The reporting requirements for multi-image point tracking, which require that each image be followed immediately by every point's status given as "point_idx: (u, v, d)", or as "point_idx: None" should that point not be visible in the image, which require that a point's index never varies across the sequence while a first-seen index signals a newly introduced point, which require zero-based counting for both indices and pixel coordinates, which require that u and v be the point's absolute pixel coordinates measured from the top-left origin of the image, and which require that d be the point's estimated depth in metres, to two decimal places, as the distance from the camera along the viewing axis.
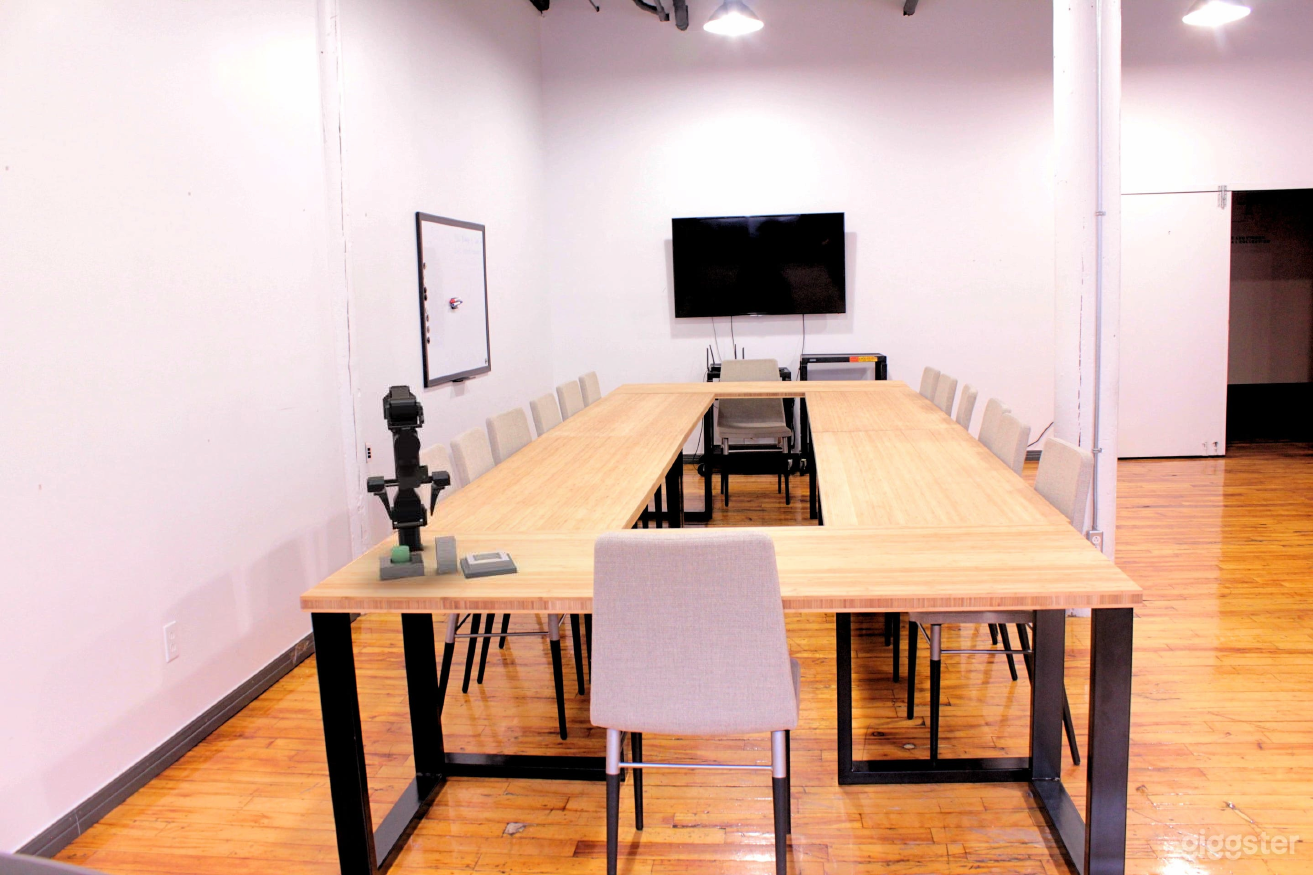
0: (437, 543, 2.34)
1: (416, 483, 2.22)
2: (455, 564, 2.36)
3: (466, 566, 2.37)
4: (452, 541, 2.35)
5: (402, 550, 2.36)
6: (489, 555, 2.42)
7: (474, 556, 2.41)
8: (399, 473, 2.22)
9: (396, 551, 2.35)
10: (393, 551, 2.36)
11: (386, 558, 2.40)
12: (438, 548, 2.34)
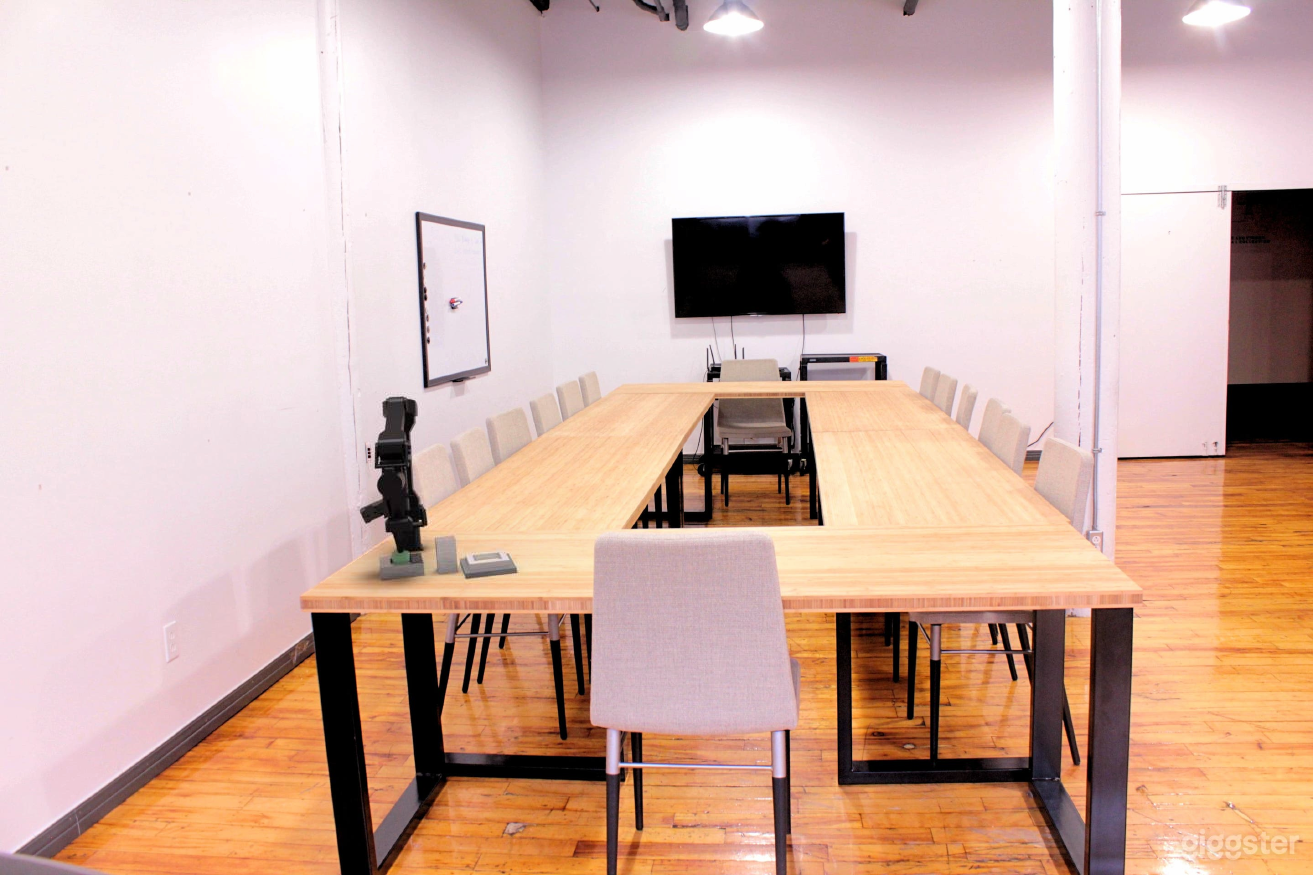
0: (437, 543, 2.34)
1: (363, 518, 2.33)
2: (455, 564, 2.36)
3: (466, 566, 2.37)
4: (452, 541, 2.35)
5: (402, 555, 2.36)
6: (489, 555, 2.42)
7: (474, 556, 2.41)
8: (367, 505, 2.36)
9: (396, 556, 2.36)
10: (393, 556, 2.36)
11: (386, 558, 2.40)
12: (438, 548, 2.34)
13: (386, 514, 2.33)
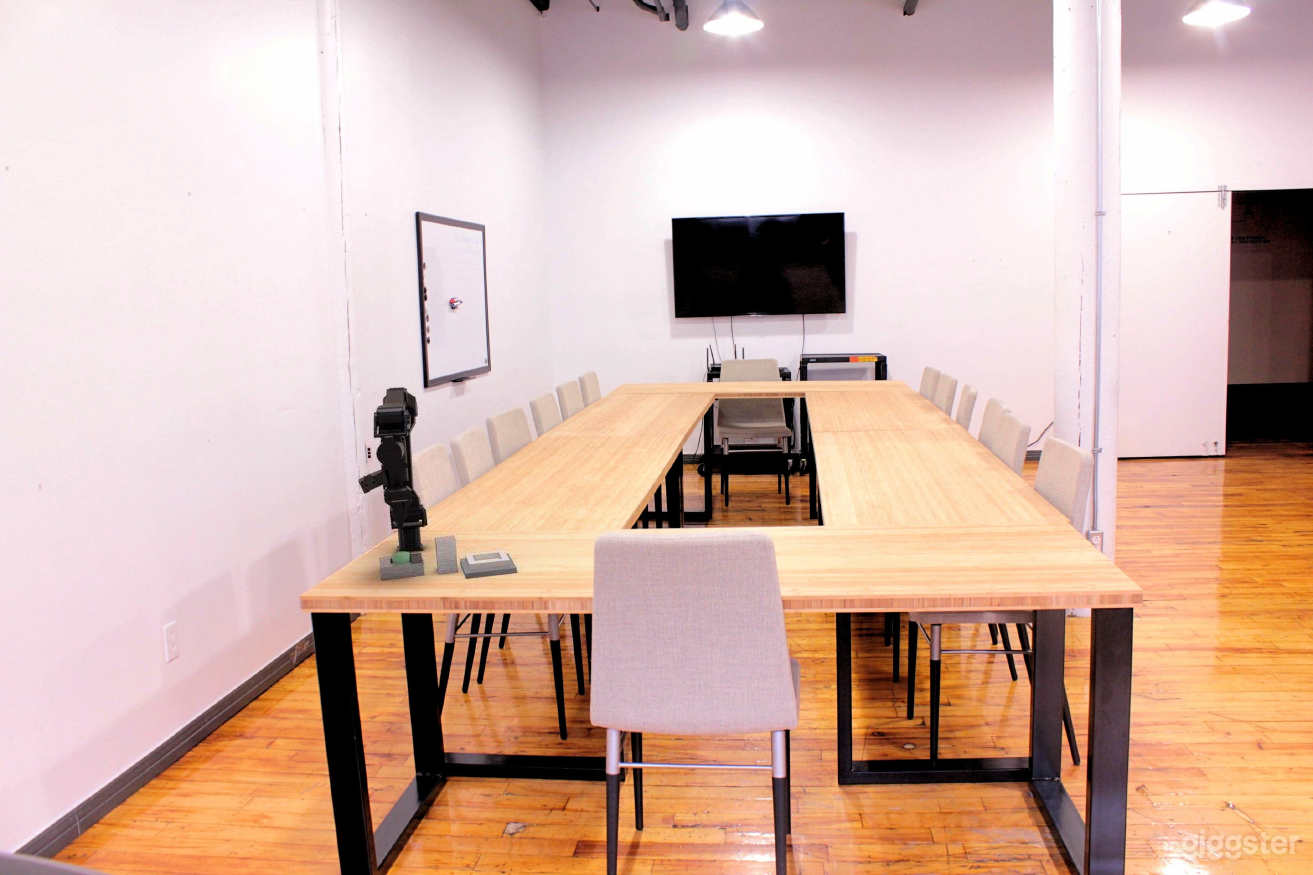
0: (437, 543, 2.34)
1: (362, 488, 2.31)
2: (455, 564, 2.36)
3: (466, 566, 2.37)
4: (452, 541, 2.35)
5: (402, 556, 2.36)
6: (489, 555, 2.42)
7: (474, 556, 2.41)
8: (366, 475, 2.35)
9: (396, 557, 2.36)
10: (393, 557, 2.36)
11: (386, 558, 2.40)
12: (438, 548, 2.34)
13: (385, 484, 2.31)
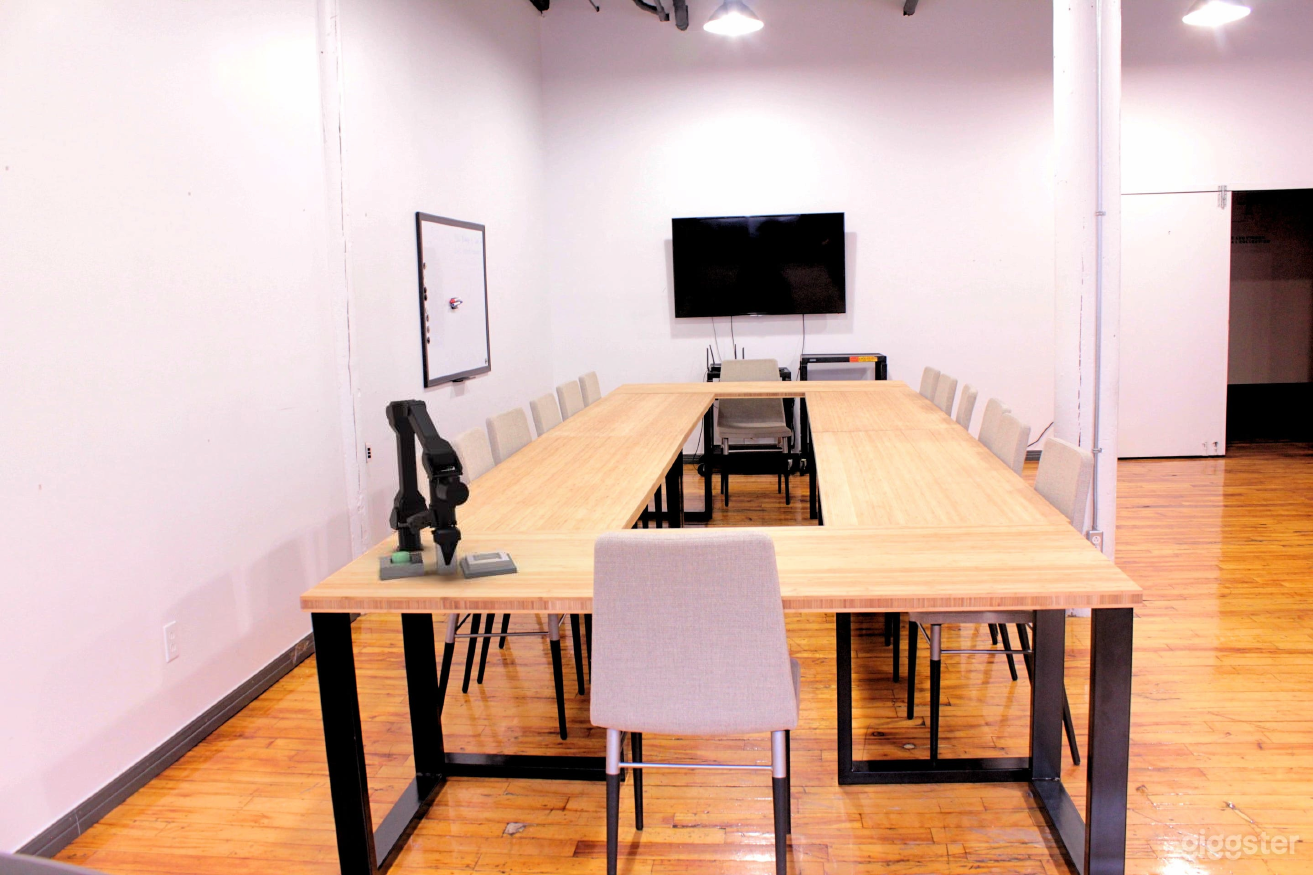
0: None
1: (410, 529, 2.33)
2: (455, 564, 2.36)
3: (466, 566, 2.37)
4: None
5: (402, 556, 2.36)
6: (489, 555, 2.42)
7: (474, 556, 2.41)
8: (414, 515, 2.36)
9: (396, 557, 2.36)
10: (393, 557, 2.36)
11: (386, 558, 2.40)
12: (438, 548, 2.34)
13: (433, 524, 2.32)
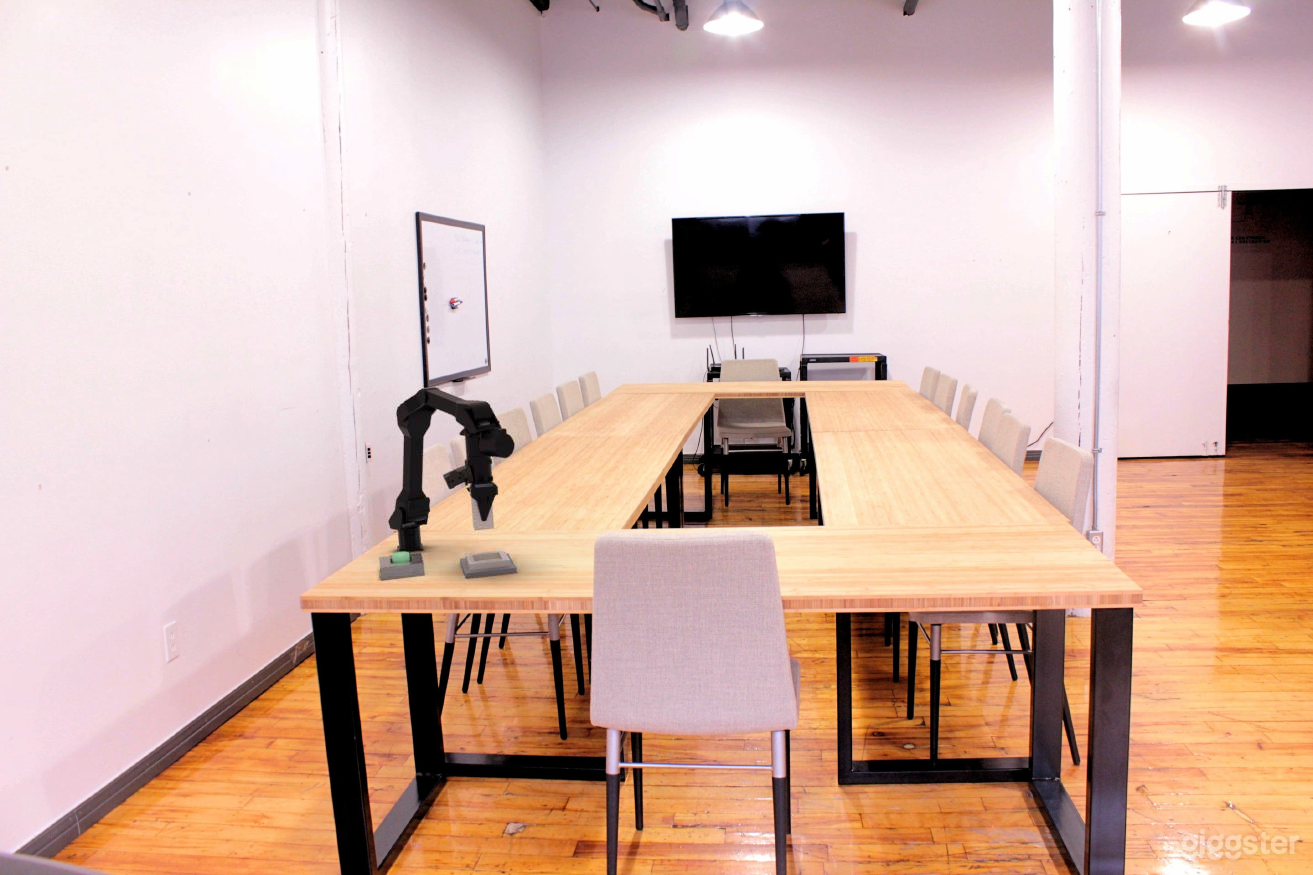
0: (473, 499, 2.33)
1: (447, 484, 2.32)
2: (491, 520, 2.35)
3: (466, 566, 2.37)
4: None
5: (402, 556, 2.36)
6: (489, 555, 2.42)
7: (474, 556, 2.41)
8: (450, 471, 2.35)
9: (396, 557, 2.36)
10: (393, 557, 2.36)
11: (386, 558, 2.40)
12: (474, 504, 2.34)
13: (470, 480, 2.32)
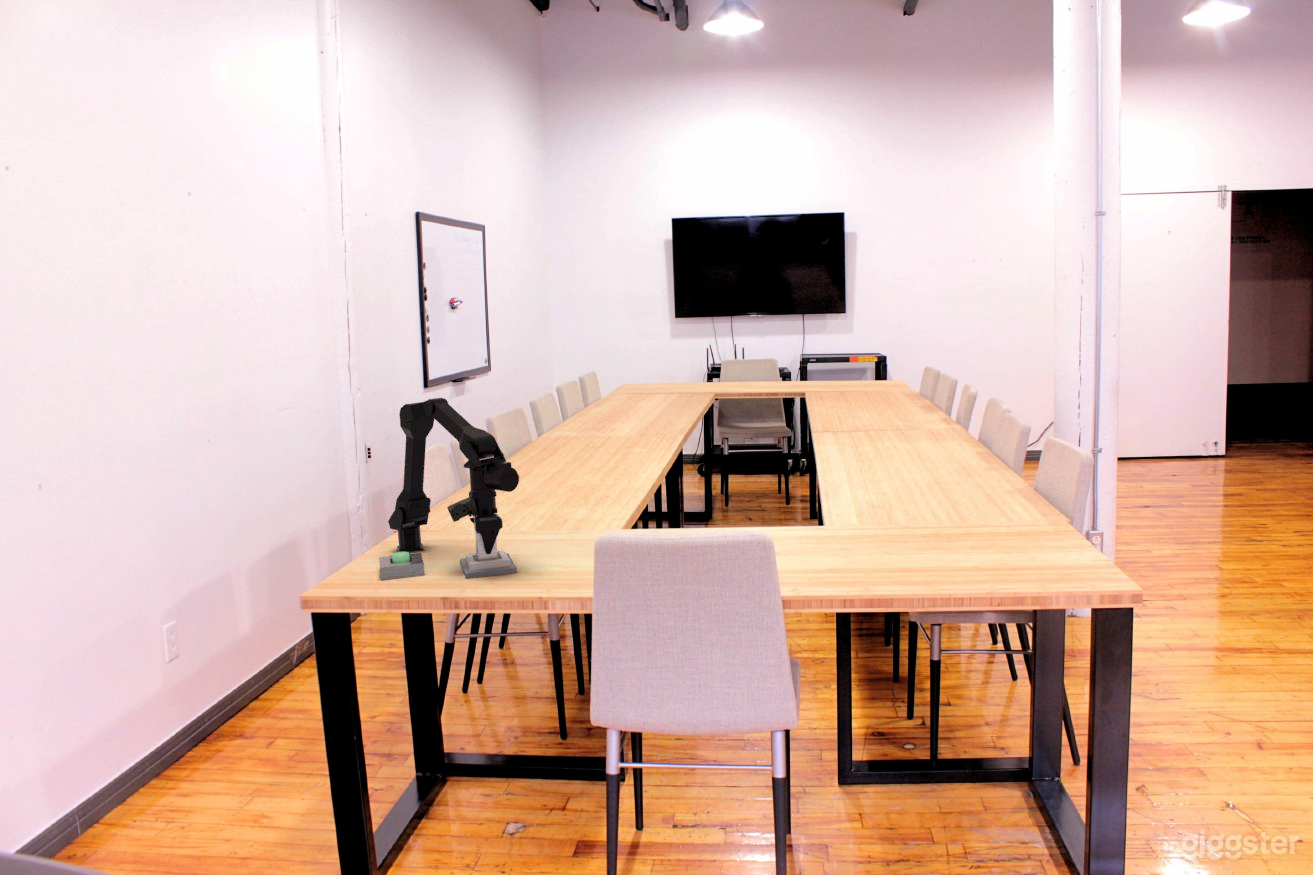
0: (478, 535, 2.35)
1: None
2: (495, 556, 2.37)
3: (466, 566, 2.37)
4: None
5: (402, 556, 2.36)
6: None
7: (474, 556, 2.41)
8: (454, 503, 2.37)
9: (396, 557, 2.36)
10: (393, 557, 2.36)
11: (386, 558, 2.40)
12: (479, 540, 2.35)
13: (474, 512, 2.33)
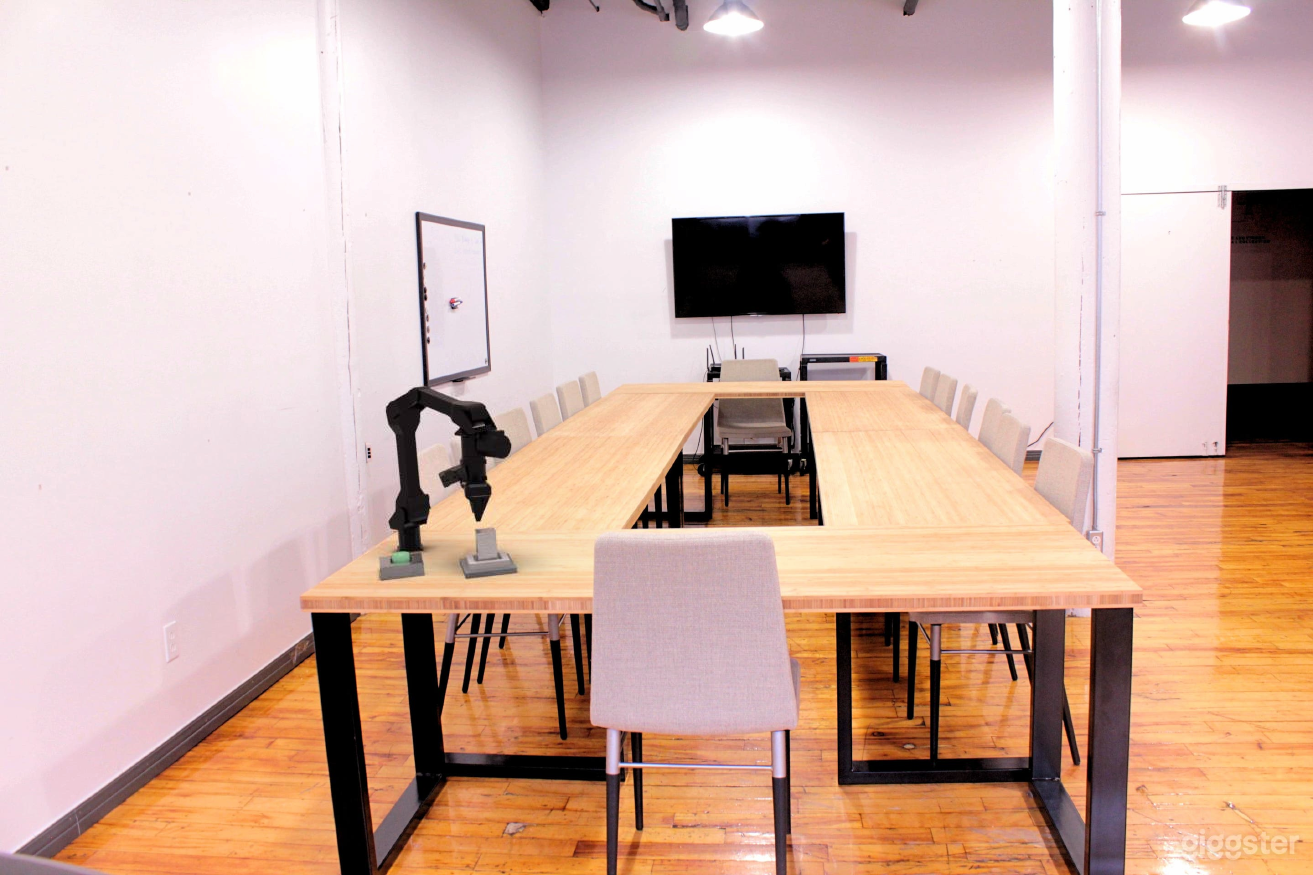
0: (478, 535, 2.35)
1: (442, 483, 2.38)
2: (495, 556, 2.37)
3: (466, 566, 2.37)
4: (492, 533, 2.36)
5: (402, 556, 2.36)
6: None
7: (474, 556, 2.41)
8: (445, 470, 2.41)
9: (396, 557, 2.36)
10: (393, 557, 2.36)
11: (386, 558, 2.40)
12: (479, 540, 2.35)
13: (464, 479, 2.38)
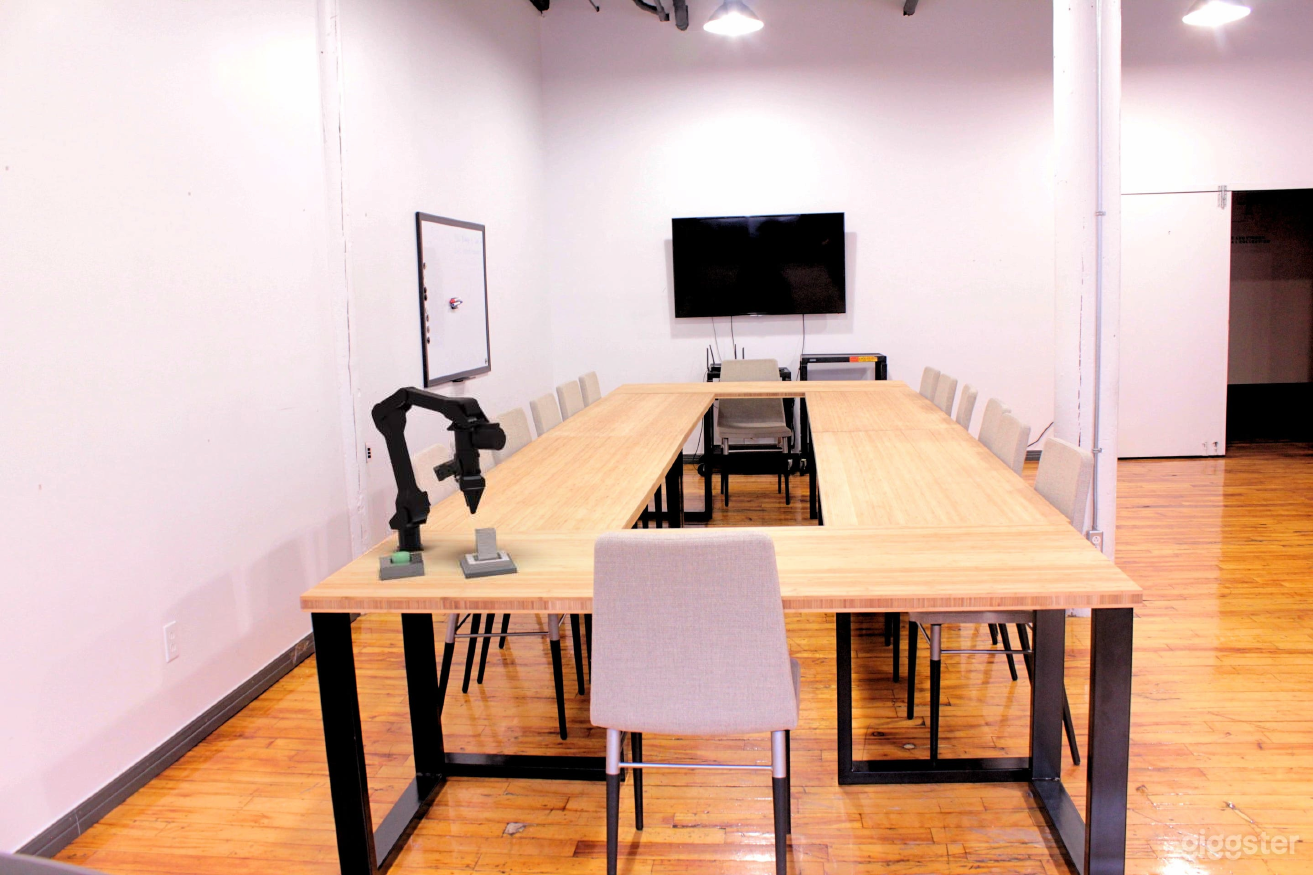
0: (478, 535, 2.35)
1: (437, 477, 2.43)
2: (495, 556, 2.37)
3: (466, 566, 2.37)
4: (492, 533, 2.36)
5: (402, 556, 2.36)
6: None
7: (474, 556, 2.41)
8: None
9: (396, 557, 2.36)
10: (393, 557, 2.36)
11: (386, 558, 2.40)
12: (479, 540, 2.35)
13: (459, 472, 2.43)
